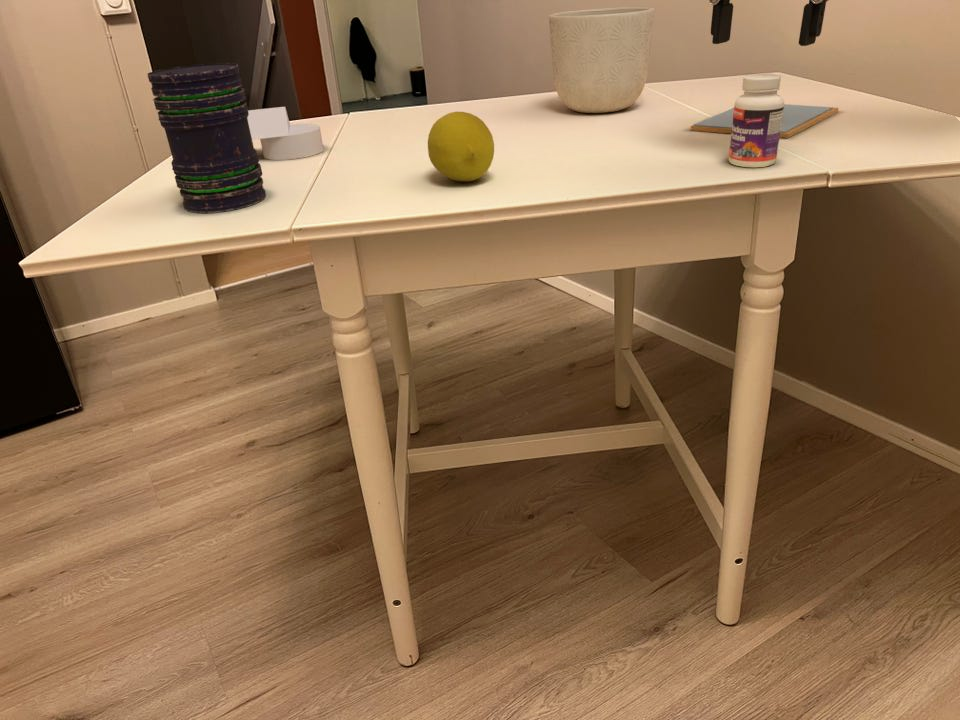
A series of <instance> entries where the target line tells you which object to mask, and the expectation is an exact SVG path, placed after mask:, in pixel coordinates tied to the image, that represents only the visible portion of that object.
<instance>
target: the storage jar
mask: <svg viewBox="0 0 960 720" xmlns="http://www.w3.org/2000/svg"><path fill="white" fill-rule="evenodd" d="M239 68H240V67H239V64H238V63H235V62H234V63H233V62H225V63H224V62H220V63H219V62H218V63H217V62H216V63H205V64H193V65H192V64H191V65H184V66H183V65H182V66H176V67H169V68H163V69H157V70H153V71H150V72H148V73H147V78H148V82H149V83H150V84H151V88H150V90H151V92H152V96H153V97H154V98H153V99H152V101H153V103H154V106H155V110H156V111H157V115H158V121H159V123H160V126H161V127H162V128H163V129H164V132H165V135H166V139H167V142H168V146H169V150H170V154H171V157H172V161H171V162H170V163H171V170H172V171H173V174H174V175H175V176H174V179H175V184H176V188H178V189H179V194H180V196H181V197H182V200H183V202H182V205H183V208H184V210H185V211H186V212H189V213H196V214H215V213H223V212H230V211H237V210H241V209H244V208H248V207H250V206H255V205H256V204H258V203H261V202H262V201H263V200H265V199H266V197H267V193H266V189H265V188H264V185H263V184H264V179H263V178H262V176H263V170H262V165H261V163H260V159H259V158H260V155H259V154H258V150H257V149H256V148H255V147H254V142H253V140H252V137H251V133H250V128H249V124H248V119H247V117H248V115H249V113H248V111H249V107H248V104H247V101H246V99H247V97H246V92H245V88H243V87H242V86H243V81H242V78H241V77H240V74H239V73H240V69H239Z"/></svg>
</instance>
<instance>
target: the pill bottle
mask: <svg viewBox="0 0 960 720" xmlns="http://www.w3.org/2000/svg"><path fill="white" fill-rule="evenodd" d="M781 78H782V76H781V75H779V74H774V73H753V74H747V75H745V76H743V78H742V79H743V80H742V85H741V87H742V88H741V90H742V91H743V94H741V95H740V96H738V97H737V98H736V99H735V101H734V107H733V108H734V114H733V124H732V133H731V134H730V142H729V151H728V162H729V164H731V165H733V166H737V167H742V168H765V167H770V166H772V165H773V164H776V161H777V157H778V152H779V151H778V150H779V144H780V138H779V137H780V130H781V123H782V116H783V109H784V104H785V100H784V98H783V96H781V95H779V94H778V91H779V90H780V86H781V81H782V79H781Z"/></svg>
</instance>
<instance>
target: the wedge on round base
mask: <svg viewBox="0 0 960 720" xmlns="http://www.w3.org/2000/svg"><path fill="white" fill-rule="evenodd" d="M248 113H249V115H248V117H247V119H248V124H249V128H250V133H251V137H252V141H253V140H254V141H255V140H259V141H260V145H261V149H262V154H263V158H264V159H266V160H270V161H271V160H272V161H287V160H298V159H303V158H308V157H312V156H315V155H318V154H321V153H322V152H324V150H325V149H324V142H323V136H322V132H321V126H320V125H319V124H315V123H314V124H313V123H298V124H296V123H295V124H291V122H290V120H289V116H288V111H287V109H286V106H279V107H277V106H276V107H269V108H268V107H267V108H260V109H259V108H258V109H250V110H249V109H248Z"/></svg>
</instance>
